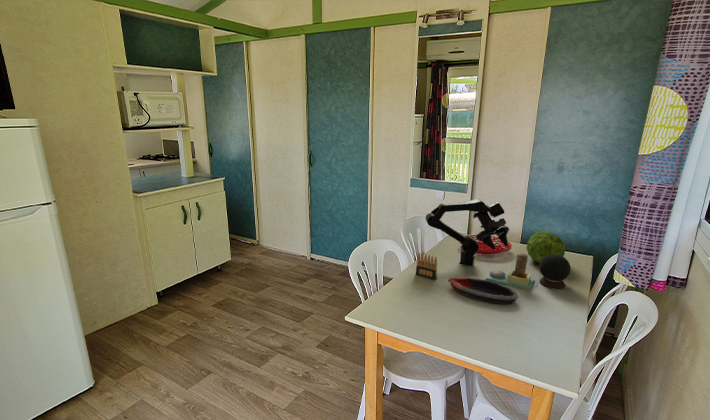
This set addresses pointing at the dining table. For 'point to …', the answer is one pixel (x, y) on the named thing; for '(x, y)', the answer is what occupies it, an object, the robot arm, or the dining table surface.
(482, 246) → the bowl
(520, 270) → the walnut dowel
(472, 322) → the dining table surface
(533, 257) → the lettuce
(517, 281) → the carrier plate
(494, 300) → the dish
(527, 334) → the dining table surface
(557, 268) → the black ball on stand
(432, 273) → the ammunition clip
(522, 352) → the dining table surface
